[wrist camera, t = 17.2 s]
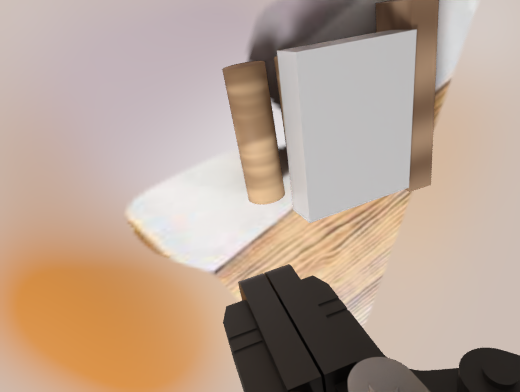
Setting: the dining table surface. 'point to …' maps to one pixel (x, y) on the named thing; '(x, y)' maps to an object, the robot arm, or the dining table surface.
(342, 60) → the slab
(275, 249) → the dining table surface
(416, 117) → the rail
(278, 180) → the roller
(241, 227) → the dining table surface
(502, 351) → the robot arm
